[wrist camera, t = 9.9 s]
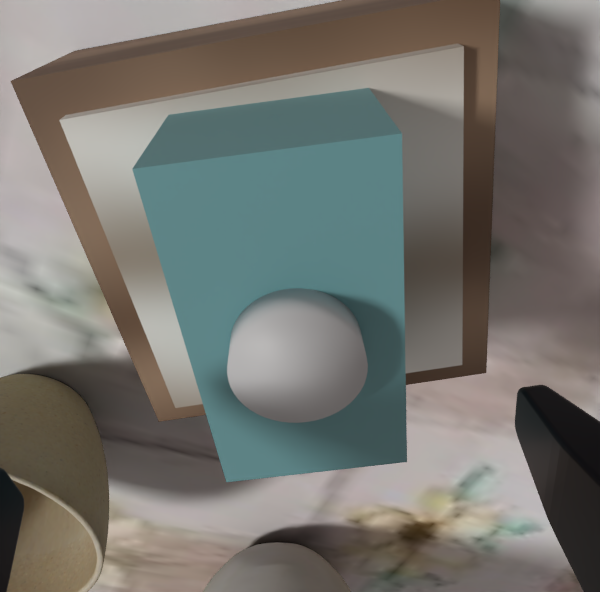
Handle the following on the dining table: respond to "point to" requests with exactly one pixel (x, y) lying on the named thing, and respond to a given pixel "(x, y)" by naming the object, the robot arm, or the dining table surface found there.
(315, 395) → the block
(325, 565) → the glass bottle
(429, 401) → the dining table surface
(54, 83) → the walnut stand
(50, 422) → the beige bowl
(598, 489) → the robot arm
